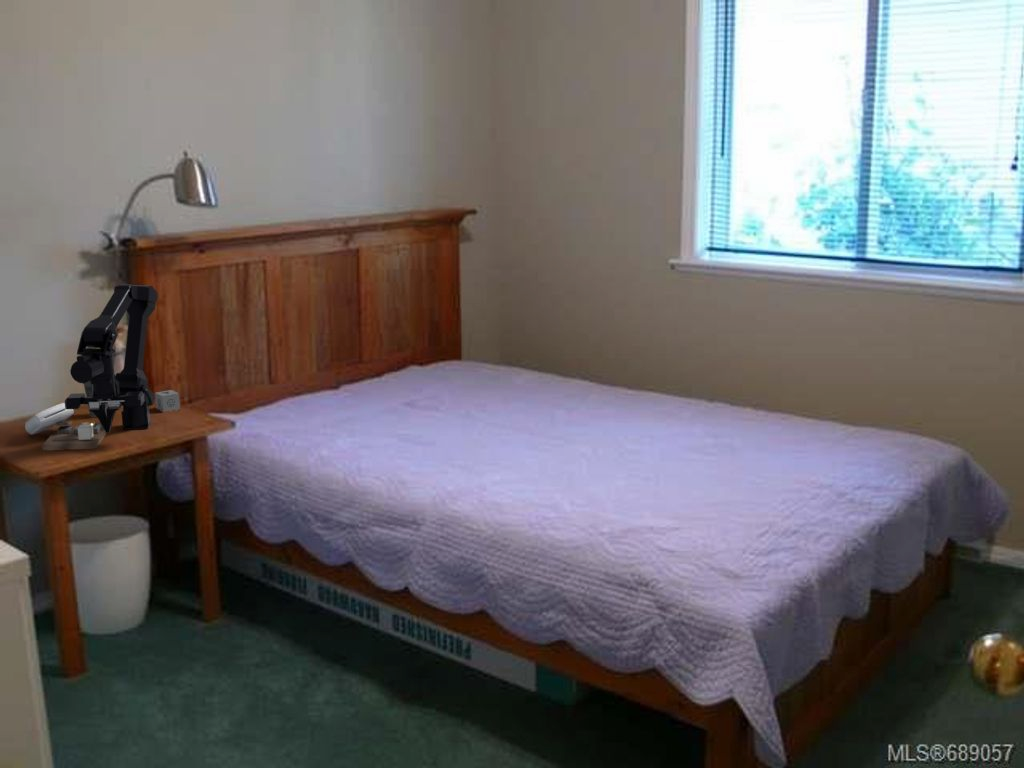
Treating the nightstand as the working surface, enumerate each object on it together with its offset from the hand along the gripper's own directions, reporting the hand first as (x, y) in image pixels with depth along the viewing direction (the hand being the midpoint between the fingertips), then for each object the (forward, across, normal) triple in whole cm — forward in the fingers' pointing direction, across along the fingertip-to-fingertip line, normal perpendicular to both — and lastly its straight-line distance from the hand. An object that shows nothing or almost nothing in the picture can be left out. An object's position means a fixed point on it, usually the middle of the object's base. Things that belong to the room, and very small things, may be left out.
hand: (108, 432), depth 286 cm
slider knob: (+2, +6, 0) cm, 6 cm away
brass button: (+1, +7, -7) cm, 10 cm away
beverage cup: (+3, +8, -28) cm, 30 cm away
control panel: (+3, +9, -4) cm, 10 cm away
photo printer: (+1, +20, -14) cm, 24 cm away
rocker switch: (0, +13, -8) cm, 15 cm away
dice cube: (+4, -10, -32) cm, 34 cm away
